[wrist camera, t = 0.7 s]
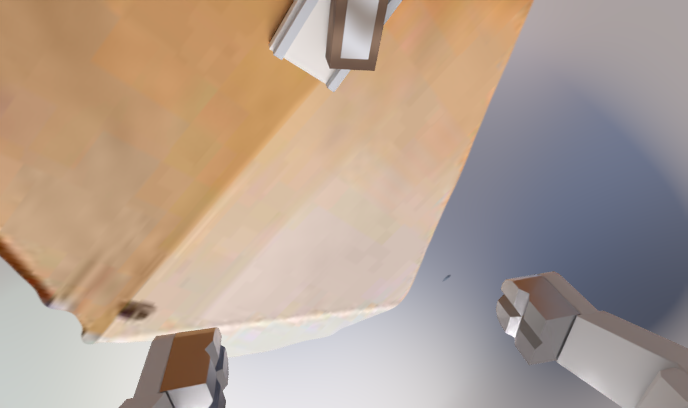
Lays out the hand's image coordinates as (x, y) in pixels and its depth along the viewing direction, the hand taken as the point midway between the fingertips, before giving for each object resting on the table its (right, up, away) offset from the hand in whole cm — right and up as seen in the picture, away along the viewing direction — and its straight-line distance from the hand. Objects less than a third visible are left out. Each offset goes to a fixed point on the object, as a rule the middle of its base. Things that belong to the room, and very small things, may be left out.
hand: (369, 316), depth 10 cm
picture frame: (+1, +28, +33) cm, 44 cm away
